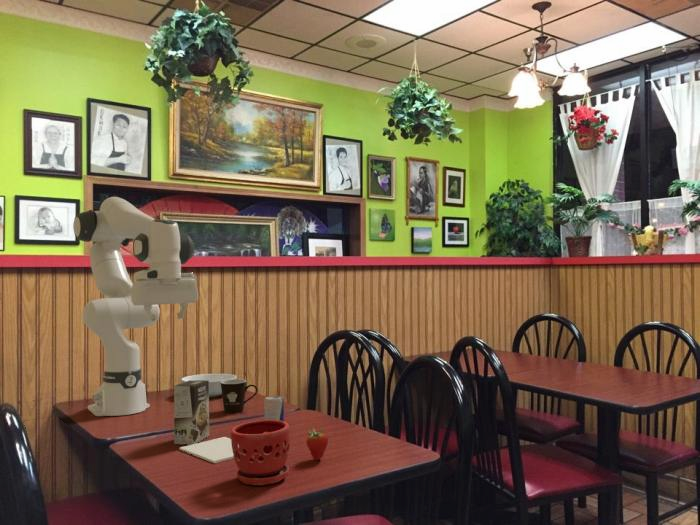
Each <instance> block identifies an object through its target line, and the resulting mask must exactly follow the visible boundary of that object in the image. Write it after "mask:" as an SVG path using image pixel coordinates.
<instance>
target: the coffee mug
mask: <svg viewBox="0 0 700 525" xmlns="http://www.w3.org/2000/svg"><path fill="white" fill-rule="evenodd" d="M250 387H253V388H254V389H255V393H254V394H252V396H250V397H248V399H246V392H247V390H248V389H249V388H250ZM221 390H222V394H221V396H222V404H223V412H224V413H225V414H239V412H240V413H243V412H244V408H245V404H246V403H247V402H249V401H250V400H252V399H253V398H254V397H255V396H256V395H257V393H258V387H257V385H255V384H249V385H247V380H246V379H237V378H236V379H232V380H224V381H221ZM245 399H246V400H245ZM242 411H243V412H242Z"/></svg>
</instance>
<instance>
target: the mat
mask: <svg viewBox="0 0 700 525" xmlns="http://www.w3.org/2000/svg"><path fill="white" fill-rule="evenodd" d="M238 447H239V446H238ZM178 449H180V450H179V451H181V450H182V452H184V451H185V452H184V453H186V452H187V453H186V454H189V455H191V454H192V456H195V457H197V458H200V459H202V460H205V461H207V462H210V463H213V464H218V463H221V462H226V461H229V460H233V459H234V455H233V450H232V444H231V437H230V438H229V437H228V436H227V437H226V436H222V437H218V438H213V439H209V440H206V441H200V442H199V443H196V444H192V445H186V446H185V445H184V446H181V447H179V448H178Z"/></svg>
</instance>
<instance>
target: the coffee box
mask: <svg viewBox="0 0 700 525" xmlns="http://www.w3.org/2000/svg"><path fill="white" fill-rule="evenodd" d="M173 397H174V398H173V421H174V424H173V429H174V430H173V432H174V433H173V436H174V438H173V440H174V441H173V442H174V445H185V444H187V445H186V446H188V445H192V444H196V443H198V442H199V443H201V442H202V441H204V440H206V439H207V438H209V437H210V397H209V381H205V380H196V381H187V382H184V383H182V382H181V383H178V384H175V385H173ZM208 436H209V437H208ZM206 437H207V438H206ZM205 438H206V439H205ZM203 439H204V440H203ZM201 440H202V441H201Z"/></svg>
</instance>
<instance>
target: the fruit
mask: <svg viewBox="0 0 700 525" xmlns="http://www.w3.org/2000/svg"><path fill="white" fill-rule="evenodd" d="M323 432H324V430H323V429H322V428H319V431H316V429H315V428H314V427H312V431H311V430H310V429H308V432H307V435H309V436H308V437H307V439H306V441H305V443H306V445H307V448H308V449H309V451H310V454H311V457H312V458H313V460H314V461H320V460H321V459H322V458H323V456H324V454H325V452H326V449H327V446H328V443H329V438H328V436H327V435H326V434H324V433H323Z"/></svg>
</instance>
